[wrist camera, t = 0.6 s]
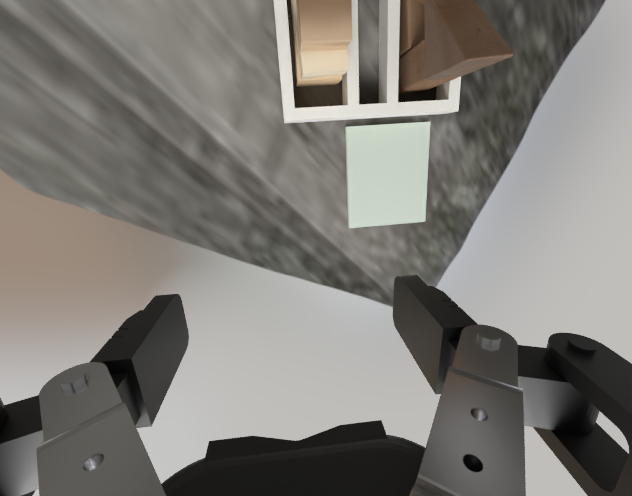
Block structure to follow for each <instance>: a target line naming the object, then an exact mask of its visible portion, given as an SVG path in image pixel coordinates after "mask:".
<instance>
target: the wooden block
mask: <svg viewBox="0 0 632 496" xmlns="http://www.w3.org/2000/svg"><path fill="white" fill-rule="evenodd" d="M513 55H514V54H513V52H512V50H511V49H510V48H509V46H508V45H507V44H506V42H505V41H504V40H503V38H502V37H501V35H500V34H499V33H498V31H497V30H496V29H495V27H494V26H493V25H492V23H491V22H490V20H489V19H488V18H487V16H486V15H485V14H484V12H483V11H482V10H481V8H480V7H479V5H478V4H477V3H476V1H475V0H400V31H399V57H400V58H399V79H398V87H399V93H409V92H416V91H424V90H428V89H431V88H433V87H436V86H438V85H441V84H443V83H446V82H448V81H451V80H453V79H456V78H458V77H461V76H463V75H466V74H468V73H471V72H474V71H476V70H479V69H481V68H484V67H486V66H489V65H491V64H494V63H496V62H499V61H501V60H504V59H507V58H509V57H512V56H513Z"/></svg>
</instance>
